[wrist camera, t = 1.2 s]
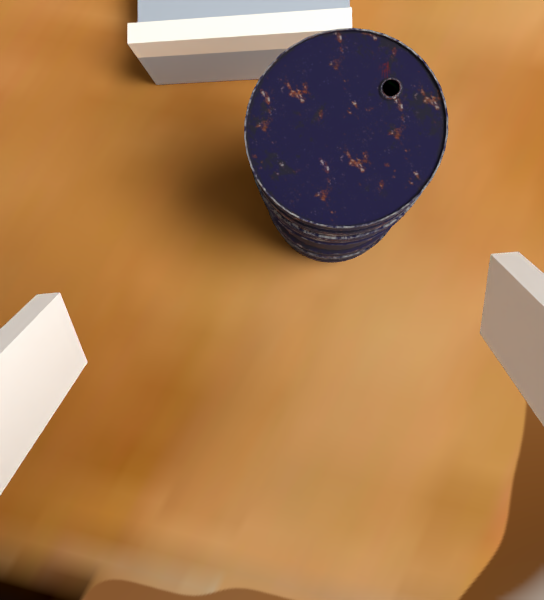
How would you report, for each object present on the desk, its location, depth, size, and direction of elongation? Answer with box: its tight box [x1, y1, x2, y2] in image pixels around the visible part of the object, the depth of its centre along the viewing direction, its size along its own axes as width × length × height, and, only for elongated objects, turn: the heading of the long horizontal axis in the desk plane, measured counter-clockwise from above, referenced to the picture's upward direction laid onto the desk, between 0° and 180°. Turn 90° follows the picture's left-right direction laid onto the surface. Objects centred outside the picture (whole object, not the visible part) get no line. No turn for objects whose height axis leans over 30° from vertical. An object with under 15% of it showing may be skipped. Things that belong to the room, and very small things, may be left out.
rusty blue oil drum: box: [244, 28, 448, 262], centre depth 28 cm, size 10×10×15 cm
